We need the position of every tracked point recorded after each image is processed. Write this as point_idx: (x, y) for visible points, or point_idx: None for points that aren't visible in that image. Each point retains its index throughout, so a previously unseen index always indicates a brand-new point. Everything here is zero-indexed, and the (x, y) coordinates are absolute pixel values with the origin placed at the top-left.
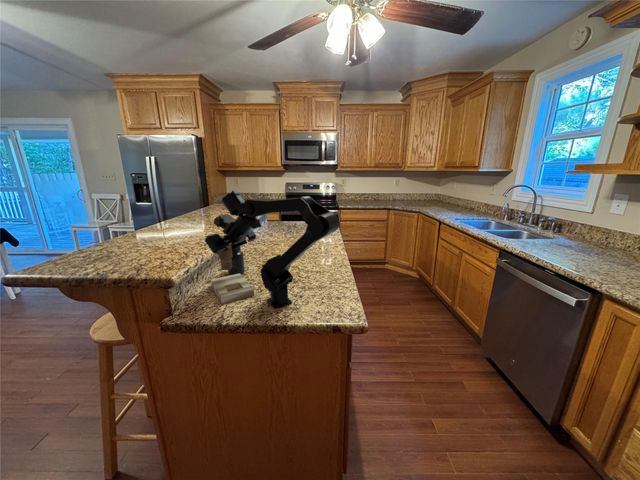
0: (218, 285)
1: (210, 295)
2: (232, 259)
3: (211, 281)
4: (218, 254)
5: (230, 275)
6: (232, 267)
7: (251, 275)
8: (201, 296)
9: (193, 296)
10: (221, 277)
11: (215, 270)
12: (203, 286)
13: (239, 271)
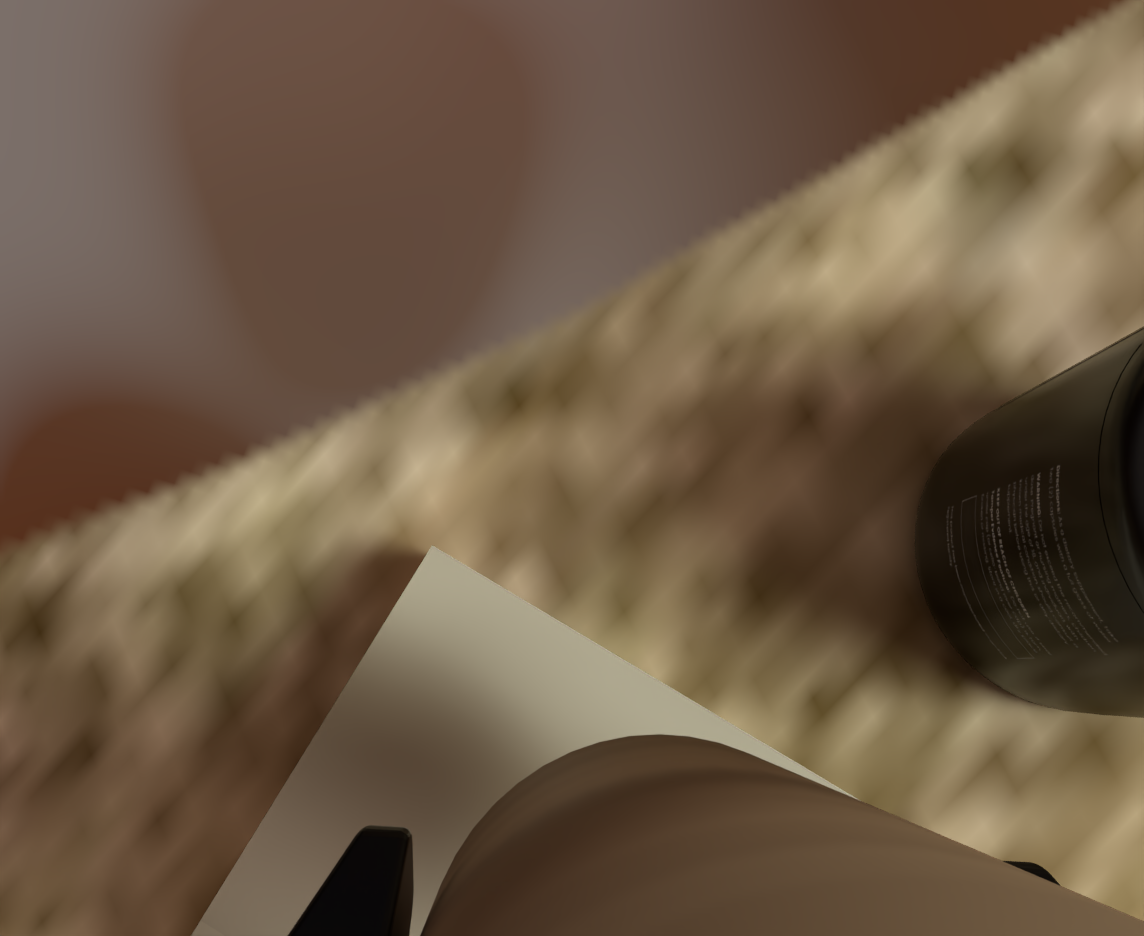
0: (299, 893)
1: (160, 836)
2: (1109, 597)
3: (409, 586)
4: (448, 875)
5: (762, 745)
6: (998, 592)
7: (1129, 904)
8: (73, 724)
9: (23, 603)
10: (602, 653)
11: (937, 122)
12: (362, 454)
13: (1047, 698)
